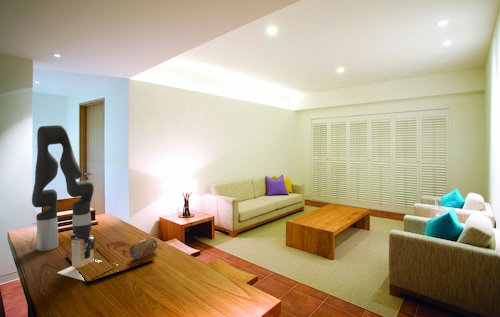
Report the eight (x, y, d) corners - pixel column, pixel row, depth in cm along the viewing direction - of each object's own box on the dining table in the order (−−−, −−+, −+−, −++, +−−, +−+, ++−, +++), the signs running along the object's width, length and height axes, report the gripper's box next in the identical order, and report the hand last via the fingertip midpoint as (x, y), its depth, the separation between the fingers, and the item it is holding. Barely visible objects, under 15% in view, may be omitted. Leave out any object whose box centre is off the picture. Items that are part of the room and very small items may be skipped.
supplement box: (80, 268, 120) (79, 241, 119) (71, 267, 121) (70, 240, 120) (94, 260, 128) (93, 235, 127) (86, 259, 129) (85, 234, 128)
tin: (132, 262, 130) (131, 245, 129) (128, 260, 131) (128, 244, 131) (157, 251, 142) (157, 236, 142) (153, 250, 144) (153, 235, 143)
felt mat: (57, 273, 118) (57, 272, 118) (90, 258, 133) (90, 258, 133) (87, 282, 111) (87, 281, 111) (119, 265, 126) (118, 264, 126)
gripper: (63, 223, 123) (65, 257, 124) (84, 226, 117) (86, 263, 118) (79, 218, 129) (80, 251, 131) (99, 222, 124) (101, 256, 125)
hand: (83, 257), depth 124 cm, fingers closed on supplement box, 5 cm apart
